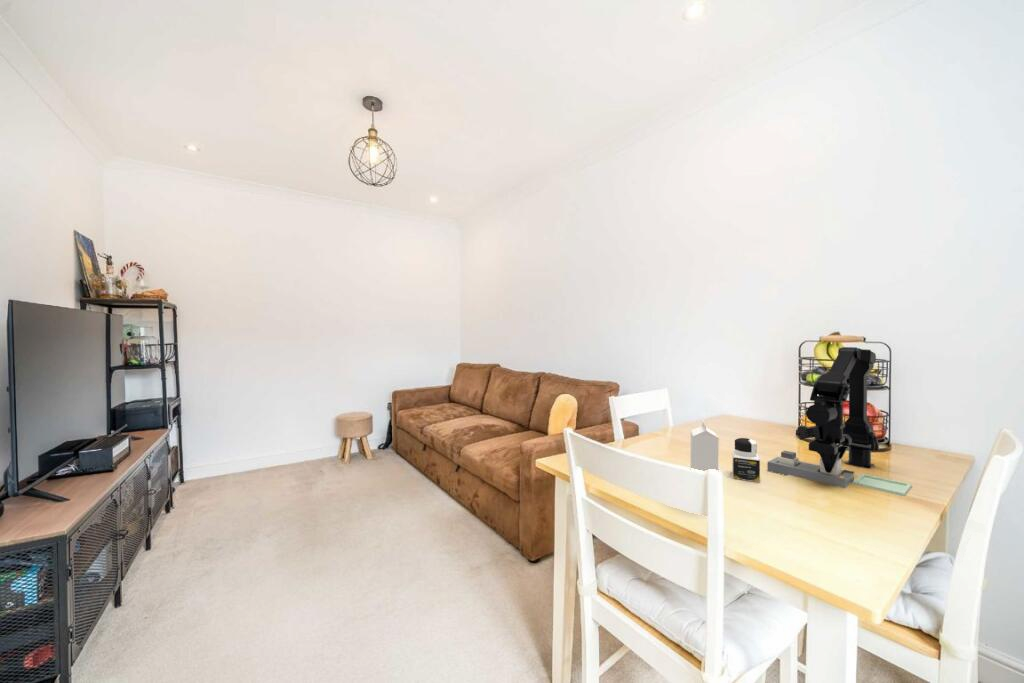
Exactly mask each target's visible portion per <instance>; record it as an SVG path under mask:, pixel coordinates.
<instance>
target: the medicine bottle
mask: <svg viewBox="0 0 1024 683" xmlns="http://www.w3.org/2000/svg"><path fill="white" fill-rule="evenodd" d="M731 452H732V458H731V459H732V466H731V468H732V469H731V470H732V472H731V473H732V478H733V479H734V478H737V479H736V480H739V479H742V480H741V481H746V480H748V481H747V482H753V481H755V483H760V481H761V460H760V456H759V454H758V443H757V441H755V440H753V439H751V438H747V437H740V438H739V437H738V438H736V439H734V450H732V451H731Z"/></svg>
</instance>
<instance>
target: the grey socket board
mask: <svg viewBox="0 0 1024 683" xmlns="http://www.w3.org/2000/svg"><path fill="white" fill-rule="evenodd" d="M779 457H780V456H777V457H774V458H773V459H770V460H769V461H767V472H770V471H772V472H771V473H774V472H776V473H775V474H778V473H780V474H779V475H782V474H784V475H783V476H786V475H787V476H792V477H797V478H801V479H805V480H810V481H814V482H818V483H820V484H821V483H822V484H825V485H830V486H834V487H839V488H843V489H846V488H847V487H848V486H849V485H851V484H853V481H854V480H855V479H854V478H855V477H854V475H855V471H853V470H847V469H842V475H841V476H835V475H830V474H826V473H821V472H820V464H815V463H810V462H804V461H801V460H798V466H796V467H795V466H790V465H786V464H781V463H779Z"/></svg>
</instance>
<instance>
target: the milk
mask: <svg viewBox="0 0 1024 683" xmlns="http://www.w3.org/2000/svg"><path fill="white" fill-rule="evenodd" d="M719 448H720V447H719V436H718V435H717V434H716V432H715V431H713V430H711V429H709V428H708V427H707V424H706V423H705V421H704V420H703V419H702V420H701V425H699V426H698V427H696V428H694V429H692V430H690V469H691V468H694V469H698V470H703V471H705V470H708V469H716V470H718V471H719V455H720V454H719V450H720V449H719Z"/></svg>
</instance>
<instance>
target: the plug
mask: <svg viewBox="0 0 1024 683" xmlns="http://www.w3.org/2000/svg"><path fill="white" fill-rule="evenodd" d="M842 459H843V458H841V459H839V457H838V459H837V461H836V463H835V465H834V467H833V469H832V471H831V473H828V472H826V471H825V468H824V465H823V461H822V459H821V457H820V459H819V465H820V472H821V473H826V474H830V475H835V476H841V475H842V470H843V468H842V461H843V460H842Z"/></svg>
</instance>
